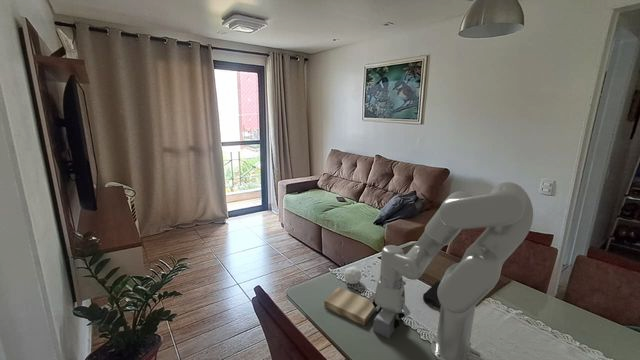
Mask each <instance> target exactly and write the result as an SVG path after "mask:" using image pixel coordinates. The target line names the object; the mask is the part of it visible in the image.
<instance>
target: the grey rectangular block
mask: <svg viewBox="0 0 640 360" xmlns="http://www.w3.org/2000/svg"><path fill="white" fill-rule="evenodd" d="M402 312H403V309H402V310H401V313H402ZM395 318H396V316H395V313H394V312H393V311H390V310H388V309H385V308H383V307H382V309H381V311H380V312H379V313H378V315H377V316H376V315H375V317H374V319H373V328H372V332H373V333H376V334H378V335H381V336H383V337H385V338H387V339H390V338H391V337H392V334H393V332H394V331H395V330H396V329H395V328H394V322H395ZM401 320H402V318H401V319H400V321H401Z"/></svg>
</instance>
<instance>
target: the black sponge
mask: <svg viewBox="0 0 640 360" xmlns="http://www.w3.org/2000/svg"><path fill="white" fill-rule="evenodd" d="M440 282H441V280H438V281H436V282H435V283H434V284H433V285H432V286H431V287H430V288H429V289H427V291H426V292H425V293H423V295H422V299H423V301H424V302H425V303H427V304H430V305H433V306H435V307H438V308H441V304H440V302H439V300H438V296H437V290H438V287H439V284H440Z"/></svg>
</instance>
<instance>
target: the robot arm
mask: <svg viewBox="0 0 640 360" xmlns="http://www.w3.org/2000/svg"><path fill="white" fill-rule="evenodd" d="M533 221H534V207H533V203H532V200H531V199H530V197H529V195H528V193H527V192H526V190H525V189H524V188H523V187H522V186H521V185H519V184H517V183H514V182H510V181H509V182H502V183H501V182H500V183H498V184H496V185H495V186H494V187H493V188H492V189H491V190H490V192H489V193H487V194H481V195H476V196H475V195H474V196H473V195H472V194H470V193H468V192H466V191H460V190H458V191H457V190H456V191H455V192H452V193H451V194H449V195H448V196H447V197H446V199H444V201H443V202H442V203H441V205H440V207H439V208H438V209H437V211H436V212H435V213H434V215H433V216H432V217H431V219H429V221H428V222H427V223H426V225H425V227H424V231H423V233H422V234H421V236H420V237H419V238H418V240H417V241H416V242H415V243H414V245H413V246H412V247H411V249H410V250H409V251H408V252H407V253H406V254H404V249H402V247H400V246H397V245H394V244H388V245H385V246H384V247H383V248H382V249H381V256H380V272H379V273H380V274H379V279H378V280H377V283H376V289H375V293H373V294H372V295H371V294H370V296H369V297H368V299H369V300H371V302H372V304H373V305H374V307H375V310H376V311H375V312H376V314H375V317H376V316H377V315H378V313H379V312H380V311H381V309H382V308H385V309H388V310H390V311H393V312H394V313H395V316H396V318H395V322H394V328H395V330H396V329H397V328H398V327H400V325H401V320H402V319H403V318H405V317H408V316H410V314H411V311H410V309H409V308H408V306H407V305H406V292H405V286H406V284H407V283H406V281H405V280H403V277H405V278H406V279H408V280H412V281H415V280H419V279H420V278H421V277H422V276H423V274H424V272H425V270H426V269H427V267H428V266H429V265H430V264H431V262H432V260H433V259H434V258H435V256H437V254H438V253H439V252H440V251H441V250H442V248H443V247H445V246H448V245H450V244H451V243H452V242H453V240H454V239H455V238H456V237H457V236H458V235H459V234H460V232H461V231H462V230H472V229H483V228H484V229H485V230H484V231H483V232H482V233H481V234H480V235H479V236H478V237H477V238H476V240H475V241H474V242H473V243H472V244H471V245H469V246H468V247H467V248H466V250H465V252H464V254H463V256H462V258H461V260H460V262H456V263H453V264H451V265H450V266H449V267H448V268H447V269H446V270H445V272H444V274H443V276H442V279H441V280H440V281H441V282H440V284H439V287H438V290H437V296H438V300H439V302H440V304H441V307H439V309H440V311H439V317H438V324H437V325H438V328H437V335H436V336H435V337H434V338H433V339H432V340H431V343H430V350H431V352H432V354H433V356H434V357H435V358H436V359H435V360H485V358H483V357H481V354H482V352H480V351H478V350H475V349H473V348H472V347H471V346H472V342H471V337H472V330H473V329H472V328H473V325H474V324H473V322H474V317H475V312H476V306H477V304H478V303H479V302H480V301H481V300H483V298H484V297H486V296H487V295H488V294H489V293H490V291H492V290H493V289H494V288H495V287H496V285H497V283H498V282H499V280H500V277H501V273H502V272H501V271H502V269H503V264H504V263H505V262H506V260H507V259H508V258H509V257H510V256H511V255H512V254H513V253H514V252H515V251H516V250H517V248H518V247H519V246H520V245H521V244H522V243H523V241H524V240H525V239H526V237H527V236H528V235H529V232H530V230H531V227H532V224H533ZM401 310H402V313H401ZM400 319H401V320H400Z"/></svg>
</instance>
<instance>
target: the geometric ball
mask: <svg viewBox="0 0 640 360" xmlns="http://www.w3.org/2000/svg"><path fill="white" fill-rule="evenodd" d="M343 275H344V276H343V277H344V280H345V281H346V283H348V284H350V285H355V284H358V283H359V282H361V278H362V274H361V271H360V269H359V268H357V267H356V266H349V267H347V268H345V271H344V274H343Z"/></svg>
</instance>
